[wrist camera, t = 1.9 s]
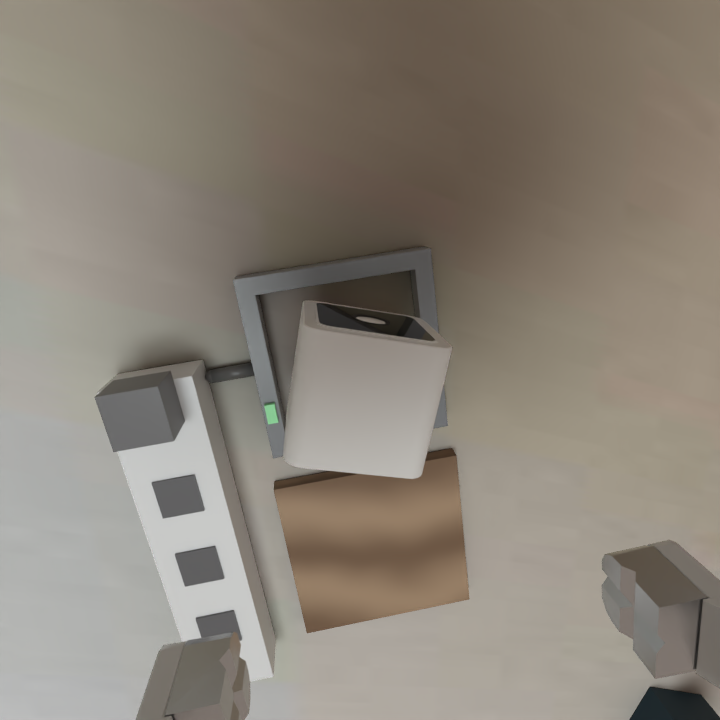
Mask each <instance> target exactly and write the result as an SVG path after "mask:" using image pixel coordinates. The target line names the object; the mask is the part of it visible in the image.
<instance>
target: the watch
mask: <svg viewBox="0 0 720 720" xmlns="http://www.w3.org/2000/svg"><path fill="white" fill-rule="evenodd" d="M630 720H720V717H719V716H718V715H717V714H716V712H715V711H714V710H713V709H712V707H711V706H710V705H709V704H708V703H707V701H706V700H705V699H704V698H703V697H702V695H699V694H693V693H686V692H680V691H673V690H667V689H661V688H654V687H650V688H649V689H648V691H647V693H646V694H645V696H644V697H643V699H642V701H641V702H640V704H639V706H638V707H637V709H636V710H635V712H634V714H633V715H632V717H631V719H630Z"/></svg>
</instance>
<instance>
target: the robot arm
mask: <svg viewBox="0 0 720 720" xmlns="http://www.w3.org/2000/svg"><path fill="white" fill-rule="evenodd" d="M602 570H603V571H604V572H605V573H606V575H607V576H608V577H607V578H606V580H605V581H604V583H603V584H602V599H603V602H604V605H605V609H606V611H607V613H608V615H609V617H610V619H611V621H612V622H613V624H614V625H615V626H616V628H617V629H618V631H619V632H621V633H623V634H625V635H627V636H628V637H630V638H632V639H633V650H634V652H635V653H636V654H637V656H638V657H639V658H640V660H641V661H642V662H643V663H644V665H645V666H646V667H647V669H648V670H649V671H650V673H651V674H652V675H653V677H654V678H655V679H656V678H662V677H667V676H672V675H677V674H682V673H687V672H693V671H696V674H698V675H700V676H701V677H703V678H704V679H706V680H707V681H709V682H710V683H712V684H713V685H715V686H717V687H718V688H720V580H719V579H718V578H716V577H715V576H714V575H713V574H712V573H711V572H710V571H708V570H707V569H706V568H705V567H704V566H703V565H702V564H700V563H699V562H698V561H697V560H696V559H695V558H694V557H692V556H691V555H690V554H689V553H688V552H687V551H685V550H684V549H683V548H682V547H681V546H680V545H679V544H677V543H676V542H674V541H671V540H667V541H662V542H658V543H653V544H649V545H647V546H646V545H645V546H640V547H635V548H631V549H626V550H622V551H617V552H613V553H608V554H605V555H604V557H603V559H602ZM240 649H241V643H240V640H239V637H238V634H237V633H235V632H231V633H225V634H220V635H214V636H209V637H203V638H198V639H192V640H188V641H185V642H179V643H173V644H168V645H163V647H162V648H161V649H160V651H159V652H158V655H157V657H156V660H155V663H154V666H153V669H152V672H151V675H150V678H149V681H148V684H147V687H146V690H145V693H144V696H143V699H142V702H141V705H140V708H139V711H138V714H137V717H136V720H244V719H245V718H246V717H247V715H248V714H249V708H250V679H249V672H248V668H247V664H246V661H245V660H243V659H242V658H240V657H239V656H240Z"/></svg>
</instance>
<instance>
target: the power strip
mask: <svg viewBox="0 0 720 720" xmlns="http://www.w3.org/2000/svg"><path fill="white" fill-rule="evenodd" d="M250 376H255V375H254V371H253V367H252V363H246V364H241V365H235V366H229V367H223V368H217V369H211V370H209V371H207V373H206V369H205V365H204V362H203V360H197V361H191V362H185V363H179V364H174V365H168V366H162V367H156V368H150V369H144V370H138V371H132V372H126V373H121V374H117V375H116V376H115V377H114V378H113V379H112V380H110V381H109V382H108V383H107V384H106V385H105V386H104V387H103V388H101V389H100V390H99V391H98V392H97V394H98V395H97V396H95V400H96V403H97V405H98V408H99V411H100V414H101V417H102V420H103V423H104V426H105V429H106V432H107V434H108V437H109V440H110V443H111V446H112V449H113V452H118V455H119V458H120V461H121V464H122V467H123V470H124V473H125V476H126V479H127V482H128V484H129V487H130V490H131V493H132V496H133V499H134V502H135V505H136V508H137V511H138V514H139V517H140V520H141V523H142V525H143V528H144V531H145V534H146V537H147V540H148V543H149V546H150V549H151V552H152V555H153V558H154V561H155V564H156V566H157V569H158V572H159V575H160V578H161V581H162V584H163V587H164V590H165V593H166V596H167V599H168V602H169V605H170V607H171V610H172V613H173V616H174V619H175V622H176V625H177V628H178V631H179V634H180V637H181V640H182V642H185V641H188V640H192V639H198V638H203V637H209V636H214V635H220V634H225V633H231V632H235V633H237V634H238V637H239V640H240V643H241V649H240V656H239V657H240V658H242V659H243V660H245V661H246V664H247V668H248V672H249V679H250V682H251V681H256V680H260V679H265V678H270V677H274V660H275V644H276V638H275V634H274V630H273V626H272V623H271V619H270V615H269V611H268V607H267V603H266V600H265V596H264V592H263V588H262V584H261V580H260V577H259V573H258V569H257V565H256V561H255V557H254V554H253V550H252V546H251V542H250V538H249V534H248V530H247V527H246V523H245V519H244V515H243V511H242V507H241V504H240V500H239V496H238V492H237V488H236V484H235V481H234V477H233V473H232V469H231V465H230V461H229V458H228V454H227V450H226V446H225V442H224V438H223V434H222V431H221V427H220V423H219V419H218V415H217V411H216V408H215V404H214V400H213V396H212V392H211V388H210V385H209V382H210V383H215V382H221V381H227V380H232V379H238V378H244V377H250Z"/></svg>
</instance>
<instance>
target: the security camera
mask: <svg viewBox="0 0 720 720" xmlns="http://www.w3.org/2000/svg"><path fill="white" fill-rule="evenodd" d="M452 348H453V347H452V346H451V345H450V344H449V343H448V342H447V341H446V340H445V339H444V338H443V337H442V336H441V335H439V334H438V333H437V332H436V331H435V330H434V329H433V328H432V327H431V326H430V325H429V324H427V323H426V322H425V321H424V320H422V319H420V318H417V317H413V316H409V315H403V314H396V313H390V312H383V311H377V310H371V309H364V308H358V307H352V306H345V305H339V304H332V303H326V302H320V301H311V300H306V301H303V303H302V310H301V317H300V324H299V331H298V337H297V344H296V351H295V358H294V365H293V371H292V378H291V385H290V392H289V399H288V406H287V412H286V425H285V438H284V451H283V458H284V460H285V462H286V463H288V464H289V465H291V466H294V467H298V468H306V469H316V470H326V471H336V472H346V473H356V474H366V475H376V476H386V477H396V478H406V479H415V478H418V477H420V476H421V475H422V472H423V468H424V464H425V460H426V456H427V451H428V447H429V443H430V439H431V435H432V431H433V427H434V422H435V418H436V414H437V410H438V406H439V402H440V398H441V393H442V389H443V385H444V381H445V377H446V373H447V369H448V364H449V360H450V356H451V352H452Z"/></svg>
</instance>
